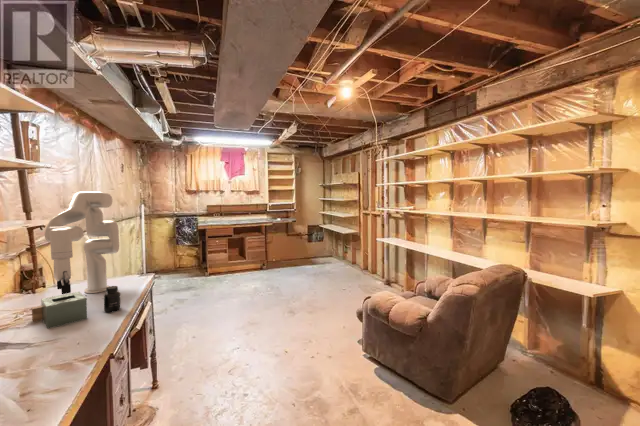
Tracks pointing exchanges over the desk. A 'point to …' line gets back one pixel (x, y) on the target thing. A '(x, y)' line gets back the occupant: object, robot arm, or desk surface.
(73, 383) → the desk surface
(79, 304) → the box
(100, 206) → the robot arm
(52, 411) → the desk surface
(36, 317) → the token
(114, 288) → the supplement bottle
